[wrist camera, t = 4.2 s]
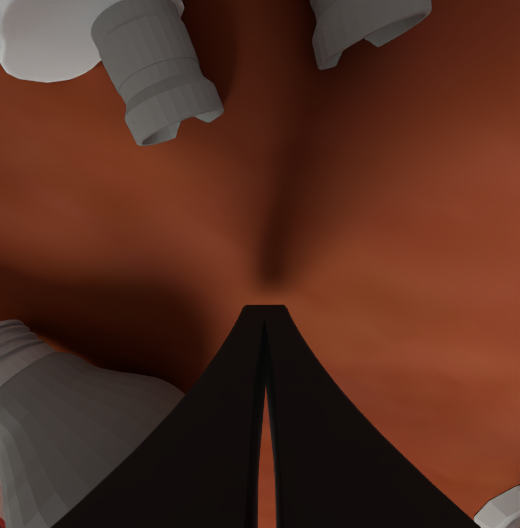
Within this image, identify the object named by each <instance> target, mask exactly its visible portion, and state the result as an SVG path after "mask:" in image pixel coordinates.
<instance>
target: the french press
mask: <svg viewBox="0 0 520 528" xmlns="http://www.w3.org/2000/svg"><path fill="white" fill-rule="evenodd" d="M474 522H476V523H477V524H478V525H479V526H480V527H481V528H520V485H519V486H516V487H514V488H512V489H510V490H508V491H506V492H505V493H503V494H501V495H499V496H497V497H496V498H494V499H492V500H490V501H489V502H488V503H487V504H486V505H485V506H484V507H483V508H482V509H481V510H480V511H479V512H478V513H477V514H476V515H475V517H474Z"/></svg>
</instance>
